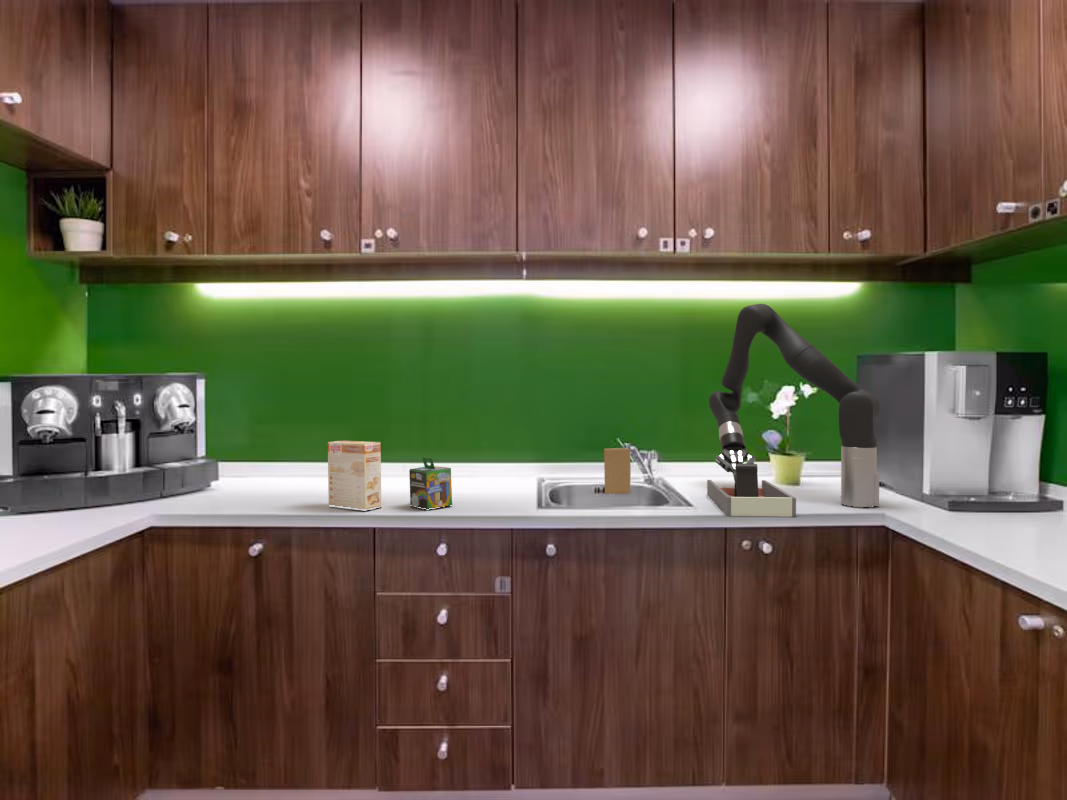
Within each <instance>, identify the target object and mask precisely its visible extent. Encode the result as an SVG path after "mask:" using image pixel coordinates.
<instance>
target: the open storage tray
mask: <svg viewBox="0 0 1067 800" xmlns="http://www.w3.org/2000/svg"><path fill="white" fill-rule="evenodd" d="M706 482H707V485H706V488H707V489H706V491H707V494H706V496H707V495H708V496H709V497H710V498H709V499H710V500H711V499H712V500H711V501H712V502H713V501H714V502H713V503H714V504H715V505H716V506H717V507H718V508H719V509H720V510H721V511H722V510H723V511H724V512H723V511H722V512H723V513H724V515H726V516H728V517H782V518H785V517H788V518H789V517H790V518H791V517H792V518H796V517H797V498H796V497H795V496H793V495H792V494H789V493H788V492H786V491H784V490H782V488H779V487H778V486H777V485H774V484H772V483H770V482H769V481H767V480H765V479H764V480H761V487H758V494H759V497H734V487H720V486H718V485H717V484H716V483H715V482H714V481H712V480H711V479H707V481H706ZM708 496H707V497H708Z"/></svg>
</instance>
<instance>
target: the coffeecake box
mask: <svg viewBox="0 0 1067 800" xmlns="http://www.w3.org/2000/svg"><path fill="white" fill-rule="evenodd" d="M381 444H382V443H381V442H380V441H360V440H335V441H328V442H327V474H328V475H327V478H328V479H327V480H328V488H327V489H328V506H329V505H335V506H343V507H351V508H358V509H370V508H374V507H379V506H381V507H382V466H381V465H382V463H381V462H382V459H381V458H382V456H381V453H382V452H381Z"/></svg>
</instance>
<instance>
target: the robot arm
mask: <svg viewBox="0 0 1067 800" xmlns="http://www.w3.org/2000/svg"><path fill="white" fill-rule="evenodd" d="M760 333H761V334H763V335H764V336H766V337H767V338H769V339H770V340H771V341H772V342H773V343H774V344H775V345H776V346H777V348H778V349H779V352H780V354H781V356H782V357H783V360H784V361H785V363H786V364H787V366H788V367H789V368H790V369H792V370H793V371H794V372H795V373H797V375H799V377H801V378H802V379H803V380H804V381H806V382H808V383H809V384H812V385H813V386H815V387H817V388H818V389H821V390H822V391H824V392H825V393H827V394H829V395H830V396H831V397H832V398H833V399H834V400H836V401H837V403H839V405H838V430H839V431H838V434H839V437H840V443H841V445H840V446H841V450H840V452H841V454H840V456H841V457H840V460H841V461H840V466H841V468H840V475H841V476H840V504H841V505H842V504H844V505H843V506H846V505H847V506H846V507H851V506H853V508H854V507H855V508H863V507H869V508H873V507H872V506H879V507H880V473H878V472H877V458H878V457H877V445H878V441H877V437H876V436H875V433H874V431H875V430H874V420H875V419H876V418H877V417H878V416H879V414H880V411H881V406H880V402H879V400H878V398H877V397H876V396H875V394H873V393H872V392H870V391H869V390H866V389H865V388H863V386H861V385H860V384H858V383H856V382H855V381H853V380H852V379H851V378H849V377H848V376H847V375H846V374H845V373H844V372H843V371H842V370H841V369H839V367H837V365H836V364H834V362H832V361H831V360H830V358H828V357H827V356H826V355H825V354H823V353H822V352H821V351H820V350H819V349H818V348H817V347H816V346H814V345H813V344H812V343H810V342H809V341H808V340H806V339H805V338H804V337H803V336H802V335H800V334H799V333H798V332H797V331H796V330H794V329H793V328H792V327H791V326H790V325H789V324H788V323H787V322H786V321H785V320H784V319H783V318H782V317H781V316H780V315H779V314H778V313H777V312H776V310H774V308H772V307H771V306H770V305H768V304H765V303H757V304H756V303H755V304H750V305H747V306H744V307H743V308H742V309H740V311H739V313H738V315H737V320H736V324H735V330H734V334H733V336H734V337H733V339H732V345H731V350H730V355H729V358H728V362H727V364H726V367H725V370H724V373H723V376H722V379H721V385H722V387H724V388H725V389H728V390H730V391H731V392H726V391H721V390H717V391H713V392H712V393H711V394H710V396H709V398H708V405H709V409H710V411H711V412H712V415H713V416H714V418H715V419H716V422H717V426H718V436H719V437H718V438H719V442H720V448H721V453H720V455H718V454H717V455H716V457H715V463H716V464H717V465H718V466H720V467H721V468H722V469H723V470H724V471H725V472H727V473H732V475H733V480H734V481H735V464H755V462H756V458H757V456H756V455H750V454H749V451H747V447H746V444H745V438H744V433H743V429H742V428H741V427H742V426H741V423H740V417H739V414H738V413H737V412H739V410H740V408H741V406H742V405H741V404H742V391H743V386H744V382H745V380H746V377H747V374H748V370H749V367H750V348H751V345H752V342H753V340H754V338H755V337H756V335H757V334H760ZM746 460H747V461H746ZM745 461H746V463H745Z"/></svg>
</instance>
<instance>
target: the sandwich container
mask: <svg viewBox="0 0 1067 800" xmlns="http://www.w3.org/2000/svg"><path fill="white" fill-rule="evenodd" d="M603 453H604V455H603V460H604V463H603V464H604V465H603V466H604V468H603V469H604V494H622V495H623V494H625V495H626V494H627V495H629V494H630V493H631V481H632V479H631V474H632V473H631V448H623V447H622V448H621V447H616V448H615V447H614V448H613V447H612V448H604V449H603Z"/></svg>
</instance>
